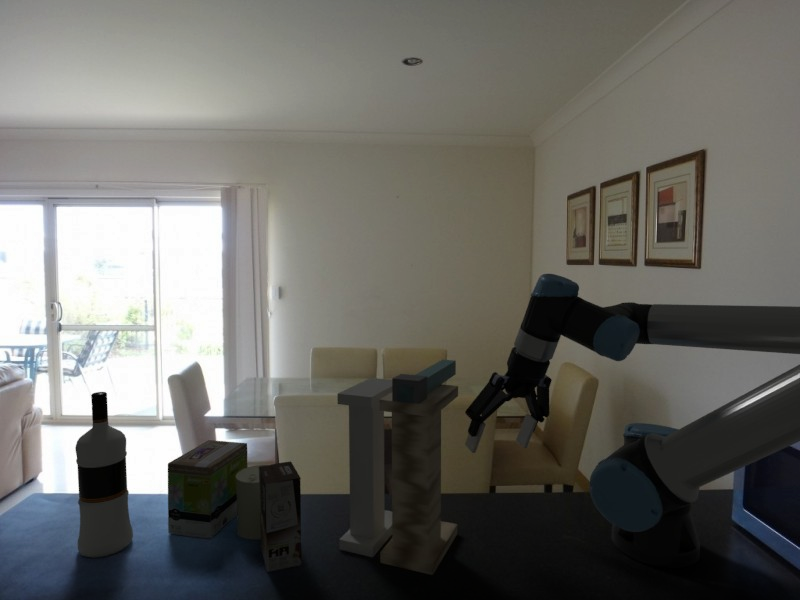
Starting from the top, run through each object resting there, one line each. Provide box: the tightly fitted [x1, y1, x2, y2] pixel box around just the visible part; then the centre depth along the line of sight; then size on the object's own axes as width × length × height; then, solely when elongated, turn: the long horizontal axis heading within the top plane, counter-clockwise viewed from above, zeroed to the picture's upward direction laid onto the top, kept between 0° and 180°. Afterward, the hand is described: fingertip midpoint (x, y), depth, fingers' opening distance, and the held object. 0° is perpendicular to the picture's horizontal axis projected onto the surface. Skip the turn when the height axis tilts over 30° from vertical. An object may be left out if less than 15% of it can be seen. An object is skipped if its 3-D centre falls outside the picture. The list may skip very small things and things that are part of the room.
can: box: [236, 464, 268, 540], centre depth 108 cm, size 9×9×12 cm
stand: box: [336, 377, 392, 558], centre depth 104 cm, size 7×14×30 cm, turn 157°
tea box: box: [167, 439, 249, 539], centre depth 111 cm, size 15×10×15 cm
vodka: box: [74, 391, 134, 559], centre depth 100 cm, size 9×9×30 cm
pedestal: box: [379, 383, 459, 576], centre depth 99 cm, size 10×15×30 cm, turn 157°
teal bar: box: [391, 359, 457, 404], centre depth 103 cm, size 5×25×4 cm, turn 157°
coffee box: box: [259, 461, 302, 573], centre depth 97 cm, size 9×6×16 cm
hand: (496, 446), depth 107 cm, fingers open, 13 cm apart
